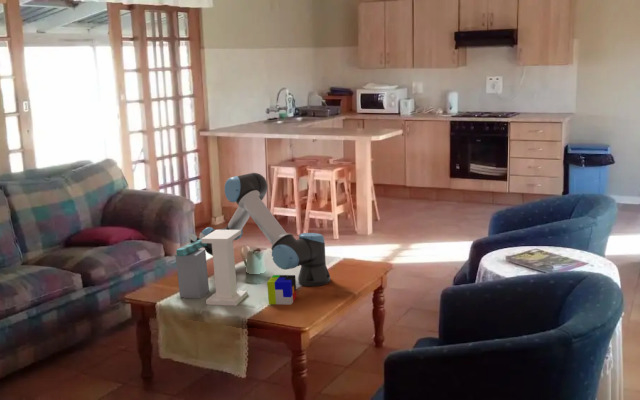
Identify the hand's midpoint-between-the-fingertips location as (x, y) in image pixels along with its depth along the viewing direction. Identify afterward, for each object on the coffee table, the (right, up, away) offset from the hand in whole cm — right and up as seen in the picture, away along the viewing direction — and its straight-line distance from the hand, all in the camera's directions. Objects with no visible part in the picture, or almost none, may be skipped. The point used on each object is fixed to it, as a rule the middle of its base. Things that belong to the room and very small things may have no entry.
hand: (195, 235), depth 320 cm
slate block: (0, -27, -1) cm, 27 cm away
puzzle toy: (+41, -28, -16) cm, 52 cm away
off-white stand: (+16, -28, -11) cm, 34 cm away
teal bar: (-1, -7, -3) cm, 7 cm away
